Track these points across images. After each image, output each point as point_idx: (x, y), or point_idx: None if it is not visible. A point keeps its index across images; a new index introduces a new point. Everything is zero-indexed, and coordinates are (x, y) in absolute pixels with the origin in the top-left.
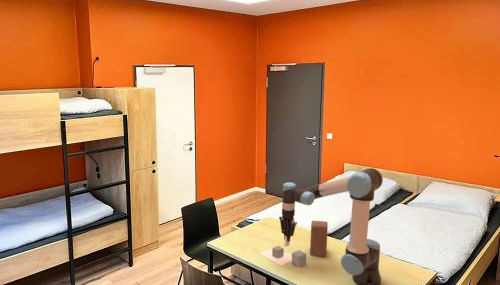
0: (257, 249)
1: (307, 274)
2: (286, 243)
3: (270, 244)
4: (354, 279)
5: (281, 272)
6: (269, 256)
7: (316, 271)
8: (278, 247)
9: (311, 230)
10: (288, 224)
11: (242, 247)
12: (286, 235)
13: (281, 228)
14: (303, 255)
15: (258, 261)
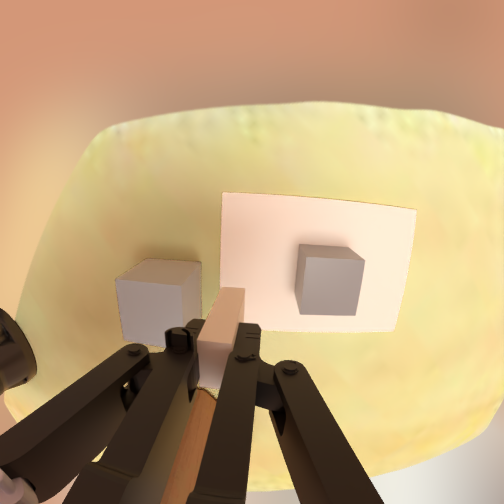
0: (445, 243)
1: (85, 237)
2: (216, 301)
3: (424, 333)
4: (4, 317)
5: (171, 142)
6: (352, 225)
7: (84, 289)
8: (338, 300)
9: (167, 498)
10: (77, 491)
11: (492, 203)
12: (222, 362)
13: (318, 408)
14: (121, 314)
15: (356, 135)
